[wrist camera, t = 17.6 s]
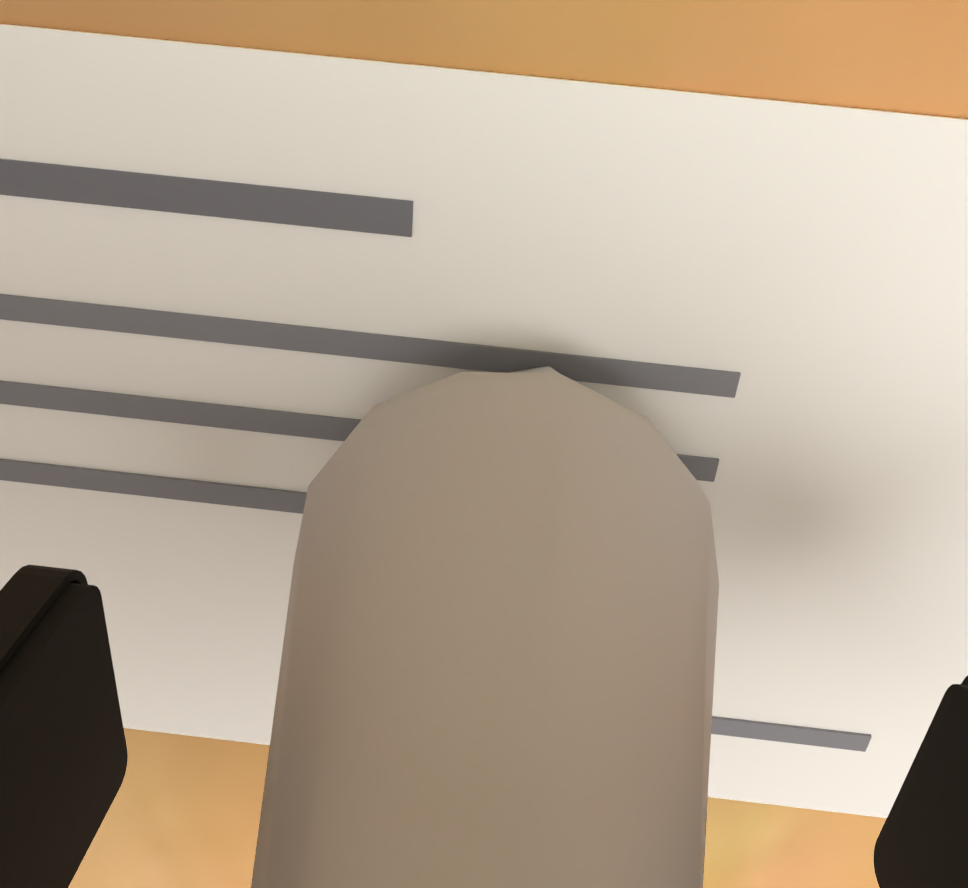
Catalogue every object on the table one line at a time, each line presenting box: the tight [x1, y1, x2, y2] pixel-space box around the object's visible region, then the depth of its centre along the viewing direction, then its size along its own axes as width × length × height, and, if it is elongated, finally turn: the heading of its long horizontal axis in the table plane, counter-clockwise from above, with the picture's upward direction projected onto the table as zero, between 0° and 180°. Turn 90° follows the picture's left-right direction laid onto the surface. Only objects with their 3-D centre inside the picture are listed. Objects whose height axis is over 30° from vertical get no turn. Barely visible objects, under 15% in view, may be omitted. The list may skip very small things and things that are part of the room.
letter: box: [0, 24, 968, 818], centre depth 15 cm, size 20×13×1 cm, turn 85°
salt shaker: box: [251, 366, 719, 888], centre depth 9 cm, size 6×6×13 cm
